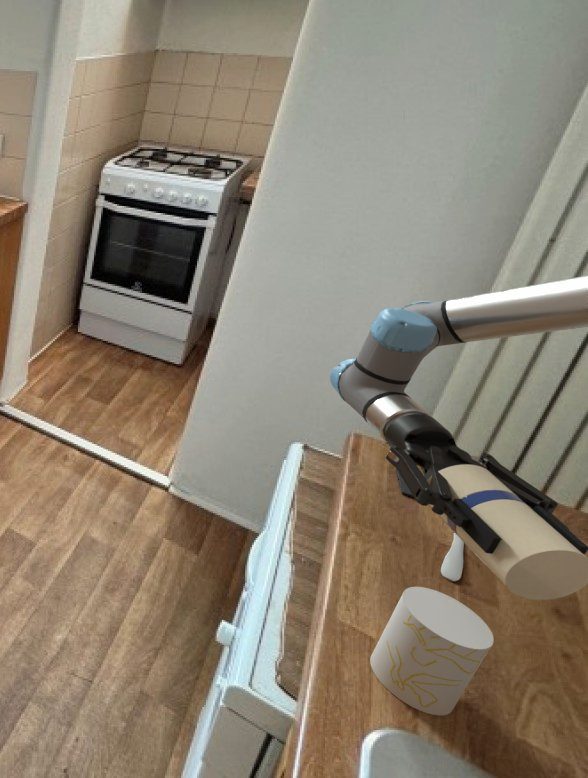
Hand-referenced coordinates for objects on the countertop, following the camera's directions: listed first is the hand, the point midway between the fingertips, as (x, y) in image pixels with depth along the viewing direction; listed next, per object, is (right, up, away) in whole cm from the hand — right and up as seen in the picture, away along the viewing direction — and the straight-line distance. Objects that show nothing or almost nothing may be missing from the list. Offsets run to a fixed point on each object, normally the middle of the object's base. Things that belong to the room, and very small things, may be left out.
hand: (536, 550), depth 76 cm
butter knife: (+15, -10, +24) cm, 30 cm away
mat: (+19, -6, +32) cm, 38 cm away
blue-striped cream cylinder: (+1, -4, +7) cm, 8 cm away
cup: (-15, -18, +1) cm, 23 cm away
